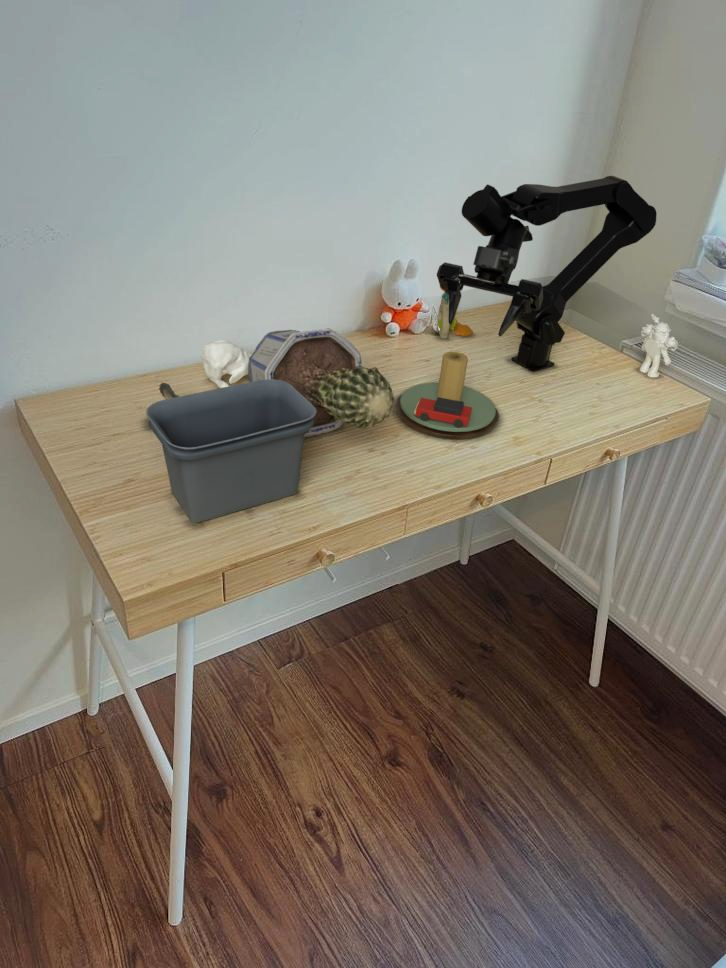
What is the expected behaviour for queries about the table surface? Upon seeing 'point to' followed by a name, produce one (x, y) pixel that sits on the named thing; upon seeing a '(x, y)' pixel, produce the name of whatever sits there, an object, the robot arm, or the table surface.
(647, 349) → the white character figurine
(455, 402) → the turntable
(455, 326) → the rattle
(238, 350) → the white crumpled lump
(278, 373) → the potted plant
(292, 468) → the storage bin
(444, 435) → the display stand
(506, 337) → the table surface
